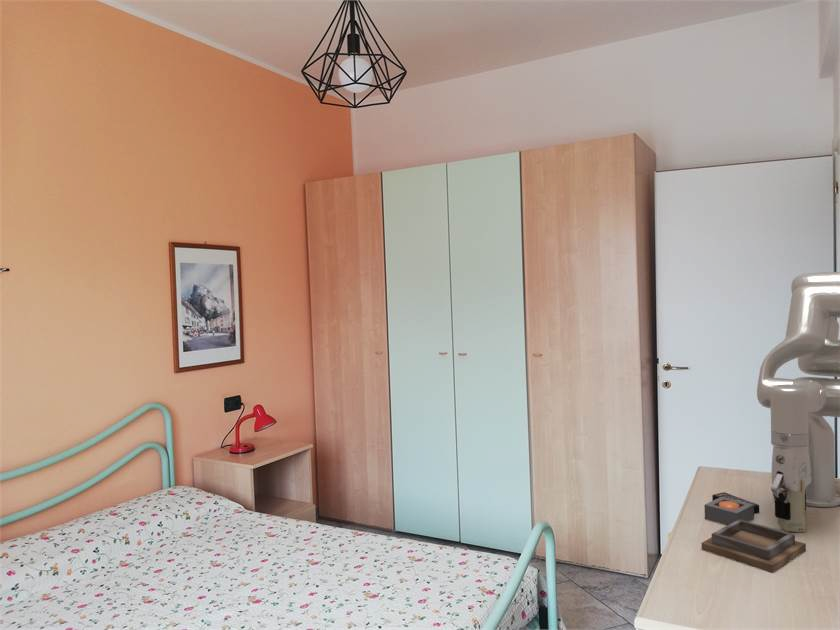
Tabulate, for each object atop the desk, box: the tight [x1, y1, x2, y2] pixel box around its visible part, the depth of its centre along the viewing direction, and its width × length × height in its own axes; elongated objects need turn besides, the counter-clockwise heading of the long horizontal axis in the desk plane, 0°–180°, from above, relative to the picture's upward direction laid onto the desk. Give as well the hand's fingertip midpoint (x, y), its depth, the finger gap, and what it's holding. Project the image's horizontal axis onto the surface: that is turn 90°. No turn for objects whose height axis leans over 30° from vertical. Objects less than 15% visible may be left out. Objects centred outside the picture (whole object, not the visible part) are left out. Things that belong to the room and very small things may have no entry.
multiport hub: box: [711, 491, 760, 515], centre depth 164 cm, size 4×11×2 cm, turn 22°
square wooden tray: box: [701, 519, 807, 574], centre depth 140 cm, size 15×15×4 cm
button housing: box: [704, 497, 755, 526], centre depth 157 cm, size 8×8×4 cm
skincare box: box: [776, 479, 807, 533], centre depth 150 cm, size 6×4×12 cm
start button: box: [719, 501, 739, 510], centre depth 157 cm, size 4×4×2 cm
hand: (790, 513), depth 150 cm, fingers closed on skincare box, 7 cm apart
